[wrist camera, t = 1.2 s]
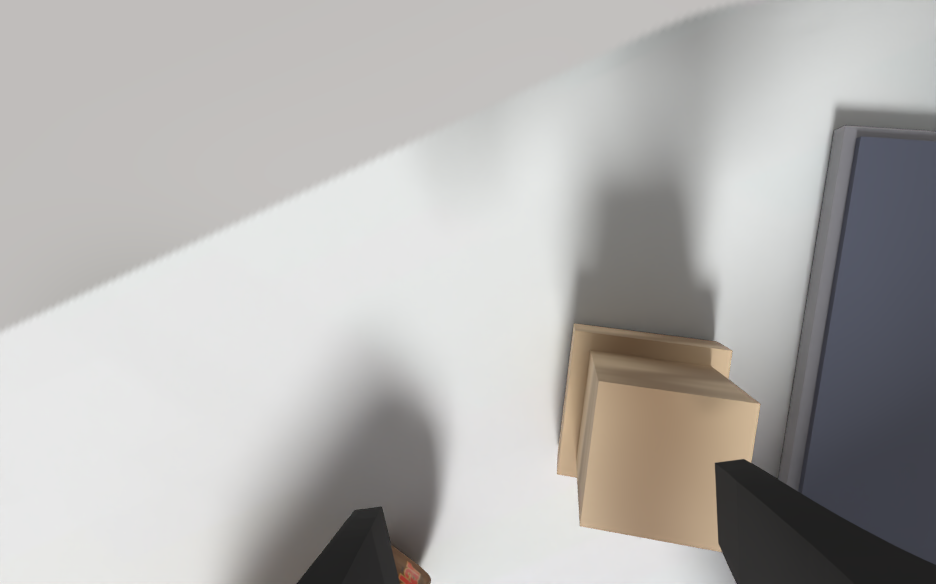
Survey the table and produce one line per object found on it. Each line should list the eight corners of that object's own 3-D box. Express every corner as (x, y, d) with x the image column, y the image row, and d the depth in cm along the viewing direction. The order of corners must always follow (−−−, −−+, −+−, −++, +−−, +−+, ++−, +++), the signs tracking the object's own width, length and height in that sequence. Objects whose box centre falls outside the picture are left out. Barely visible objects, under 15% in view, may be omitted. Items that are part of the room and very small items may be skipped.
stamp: (714, 340, 21) (789, 384, 14) (694, 473, 21) (758, 581, 14) (573, 322, 22) (578, 355, 15) (557, 451, 22) (554, 543, 15)
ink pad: (1029, 143, 19) (1058, 136, 18) (937, 620, 20) (958, 642, 19) (834, 130, 20) (849, 123, 19) (760, 586, 21) (771, 605, 20)
